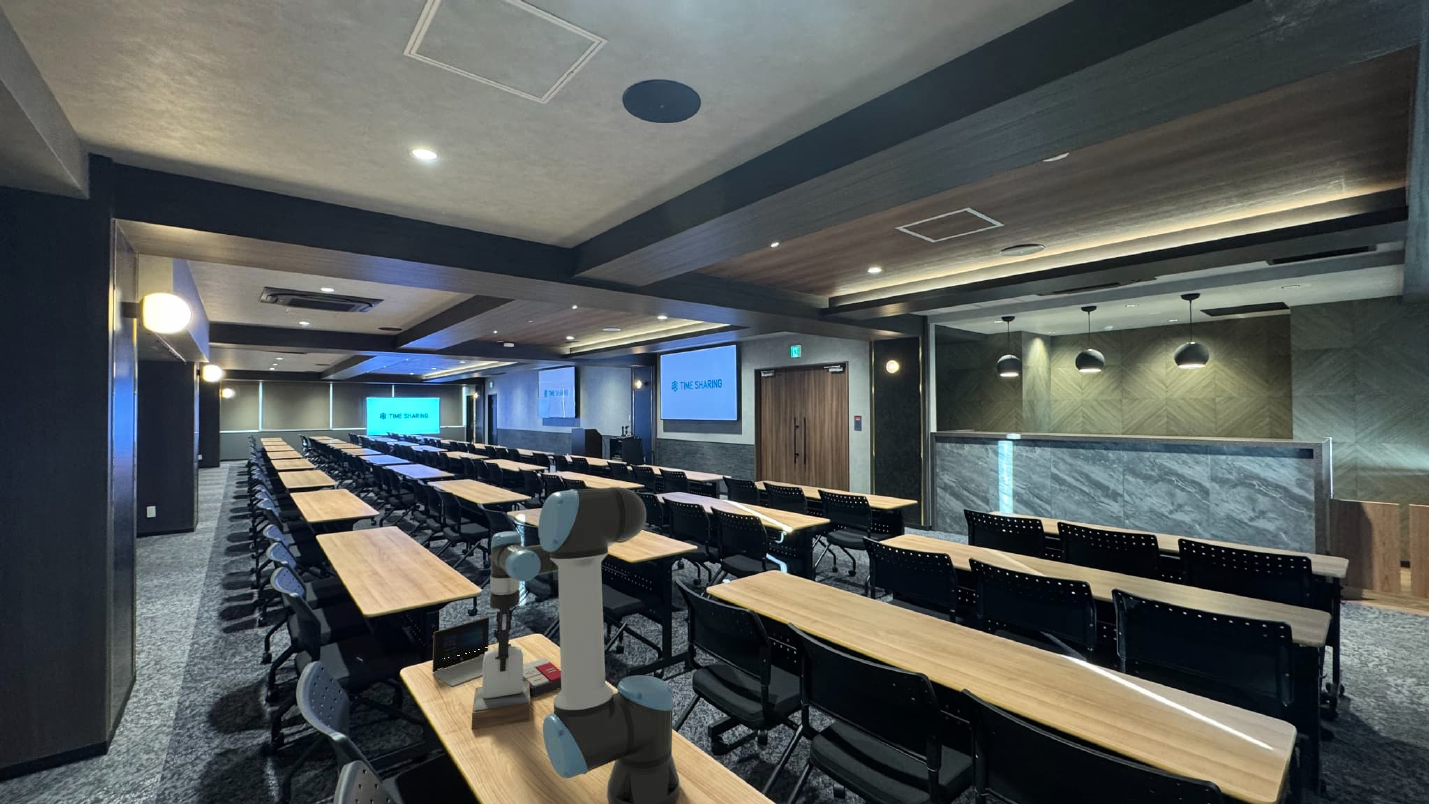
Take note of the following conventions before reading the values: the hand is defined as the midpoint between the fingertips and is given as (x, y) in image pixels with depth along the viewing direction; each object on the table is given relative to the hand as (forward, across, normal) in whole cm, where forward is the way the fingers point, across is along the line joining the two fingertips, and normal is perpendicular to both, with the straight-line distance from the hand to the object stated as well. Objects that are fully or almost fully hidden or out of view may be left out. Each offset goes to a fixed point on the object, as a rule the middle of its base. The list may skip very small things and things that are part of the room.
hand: (502, 677), depth 151 cm
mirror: (+9, 0, 0) cm, 9 cm away
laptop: (+9, +28, +10) cm, 31 cm away
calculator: (+10, +14, -10) cm, 20 cm away
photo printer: (+4, 0, 0) cm, 4 cm away
